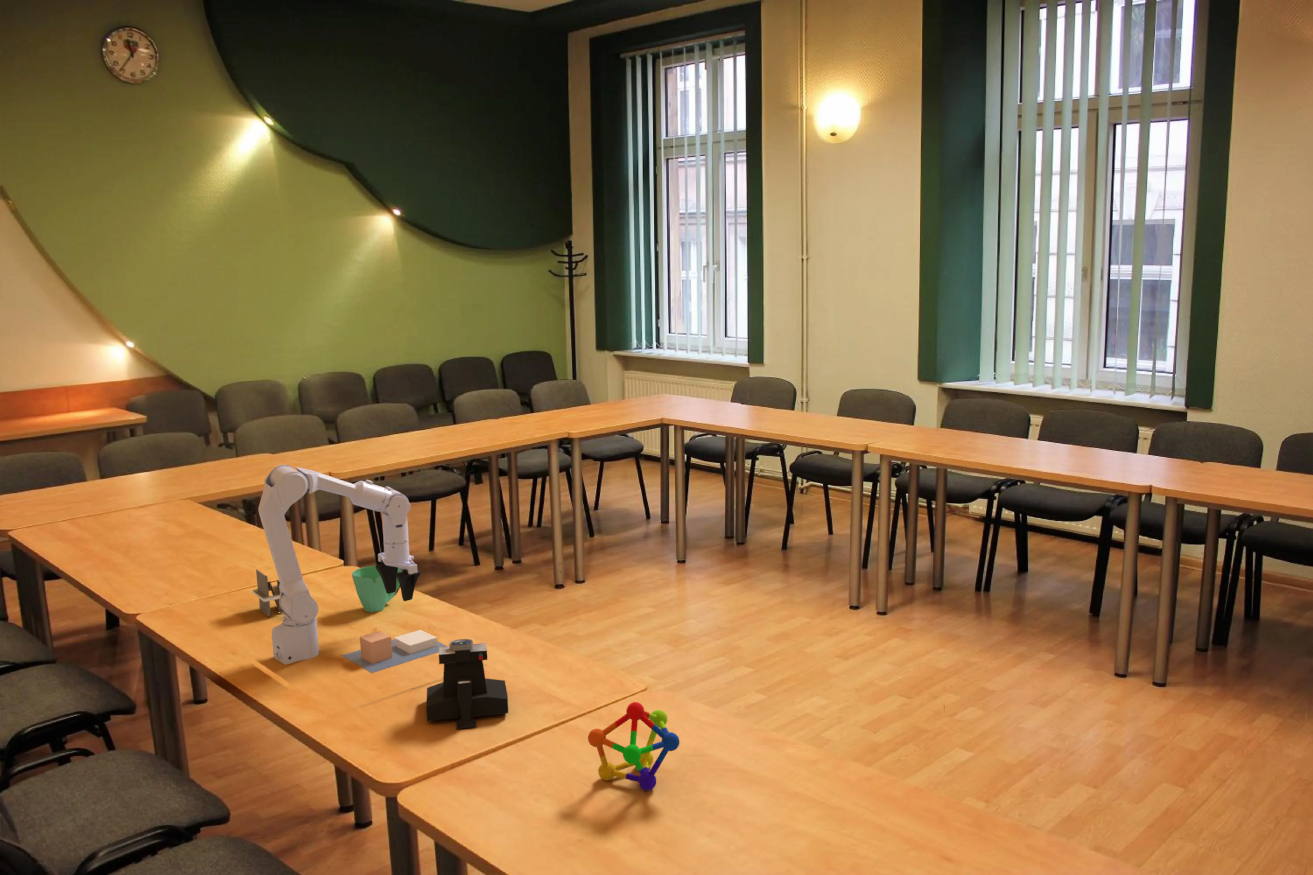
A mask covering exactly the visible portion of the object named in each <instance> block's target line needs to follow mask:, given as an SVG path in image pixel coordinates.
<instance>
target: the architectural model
mask: <svg viewBox="0 0 1313 875" xmlns="http://www.w3.org/2000/svg"><path fill="white" fill-rule="evenodd" d="M255 573H256V584H257V588H254V589H252V594H253V595H254V596H255V597H257V598H258V602H259V610H260V611H261V612H262V611H263V612H264V613H263V612H262V613H263V614H265V615H266V616H267V615H268V616H270V617H271V616H272V615H271V614H272V613H271V605H270V604H271V603H270V602H272V601H274V602H275V605H276V608H277V612H280V613H277V614H278V615H283V614H285V612H284V611H283V610H282V609H281V607H280V604H279V599H280V589H279V585H280V581H279V578H277V579H276V584H275V585H273V584H272V581H271V580H269V579H268V575H265V574H264V573H262V572H261V571H260V570H259V569H255ZM270 592H271V594H272V595H270V594H269V593H270ZM268 616H267V617H268Z"/></svg>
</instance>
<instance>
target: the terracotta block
mask: <svg viewBox="0 0 1313 875" xmlns="http://www.w3.org/2000/svg"><path fill="white" fill-rule="evenodd" d="M391 641H392V637H391V635H389V634H387V633H385V632H383V631H381V630H378V631H375V632H371V633H368V634H365V635H360V636H359V643H360V650H361V658H363V659H364V660H366V661H368V662H370V663H371V664H374V663H377V662H380V661H383V660H387V659H390V658H392V644H391Z"/></svg>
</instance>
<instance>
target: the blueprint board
mask: <svg viewBox="0 0 1313 875" xmlns="http://www.w3.org/2000/svg"><path fill="white" fill-rule="evenodd" d="M391 644H392V658H390V659H387V660H383V661H380V662H377V663H374V664H371V663H370V662H368V661H366V660H364V659H363V658H361V649H358V650H355V651H351V652H348V653H345V654H342V655H341V656H342V657H343V658H345V659H347V660H349V661H351V663H353V664H355V665H357V666H359V667H360V668H362V669H364V670H366V671H367V672H369V673H371V674H374V673H378V672H380V671H383V670H386V669H390V668H392V667H396V666H399V665H402V664H405V663H408V662H412V661H415V660H418V659H421V658H422V659H423V658H425V657H428V656H430V655H433V654H437V653H438V654H439V647H445V646H447V645H446V644H443V643H442V642H439V641H438V639H437V636H435V635H432V634H430V633H428V632H426V631H424V630H422V629H419V630H415V631H412V632H407V633H405V634H402V635H398V636H395V637H393V639H391Z"/></svg>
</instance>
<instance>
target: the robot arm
mask: <svg viewBox="0 0 1313 875" xmlns="http://www.w3.org/2000/svg"><path fill="white" fill-rule="evenodd" d="M294 468H295V469H294ZM294 468H293V466H290V465H288V464H279V465H277V466H275V467H273V469H271V470H270V472H269V473H268V475H266V477H265V479H264V485H263V486H264V487H263V491H262V494H261V497H260V498H261V499H260V502H259V505H258V508H257V509H258V513H259V518H260V521H261V525H262V528H263V531H264V534H265V537H266V541H267V544H268V548H269V550H270V554H271V558H272V560H273V564H274V568H275V571H276V574H277V577H278V578H277V579H278V581H280V585H279V589H280V599H279V604H280V607H281V609H282V610H283V611H284V612H285V613H284V615H283V618H282V622H281V623H280V624H279V625H276V626H274V627H273V628H272V631H271V638H272V639H271V642H272V653H273V659H275V660H277V661H278V662H279V663H281V664H283V665H285V666H286V665H289V664H294V663H296V662H297V663H298V662H300V661H306V660H310V659H314V658H315V657H317V656H319V654H320V646H319V634H318V633H319V632H318V621H317V615H318V613H319V605H318V603H317V601H316V600H315V599H314V598H313V597H312V596H311V593H310V590H309V588H308V586H307V584H306V581H305V580H304V578H303V574H302V571H301V568H300V565H299V564H300V563H299V560H298V557H297V554H296V551H295V550H296V549H295V547H294V544H293V541H292V537H291V533H290V530H289V528H288V524H287V521H286V517H285V516H286V515H285V514H286V513H287V511H288V510H289V509H290V507H291V506H292V505H294V504H295V503H296V502H298V501H299V500H300V499H302V498H303V497H304V496H305V494H306V493H308V494H310V495H311V494H312V493H314V492H316V491H325V492H328V493H331V494H334V495H340V496H343V497H347V498H349V499H350V502H351V503H352V505H354V506H358V507H360V508H361V507H362V508H364V509H368V510H371V511H374V512H378V513H379V512H382V513H381V514H382V518H381V519H382V534H383V536H382V537H383V552H380V553H378V554H377V559H378V560H377V561H378V562H379V564H376V565H375V566H376V569H377V571H378V572H379V574H380V576H381V578H382V581H383V584H384V587H385V590H386V593H387V594H389V593H393V592H396V579H398V581H399V584H400V593H401V598H402V601H403V602H407V601H411V600H413V596H414V593H415V587H416V584H417V582H418V579H419V577H420V575H421V571H420V570H419V569H418V564H416V563H415V562H414V561H413V560H414V558H415V556H414V555H411V554H410V543H409V524H408V523H409V522H408V514H409V512H410V511H411V508H412V505H411V503H410V501H409V498H408V497H407V496H406V495H405V494H403V493H401V492H400V491H398V490H395V489H394V488H392V487H390V486H387V485H386V486H385V487H383V486H380V485H377V484H374V482H373V481H372V480H369V479H365V481H364V480H358V481H357V482H355V483H351V482H349V481H345V480H342V479H339V478H337V477H335V476H330V475H328V474H325V473H321V472H319V471H316V470H311V469H308V468H303V467H300V466H299V467H298V466H295V467H294ZM398 568H400V569H402V570H403V572H399V573H398Z"/></svg>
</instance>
